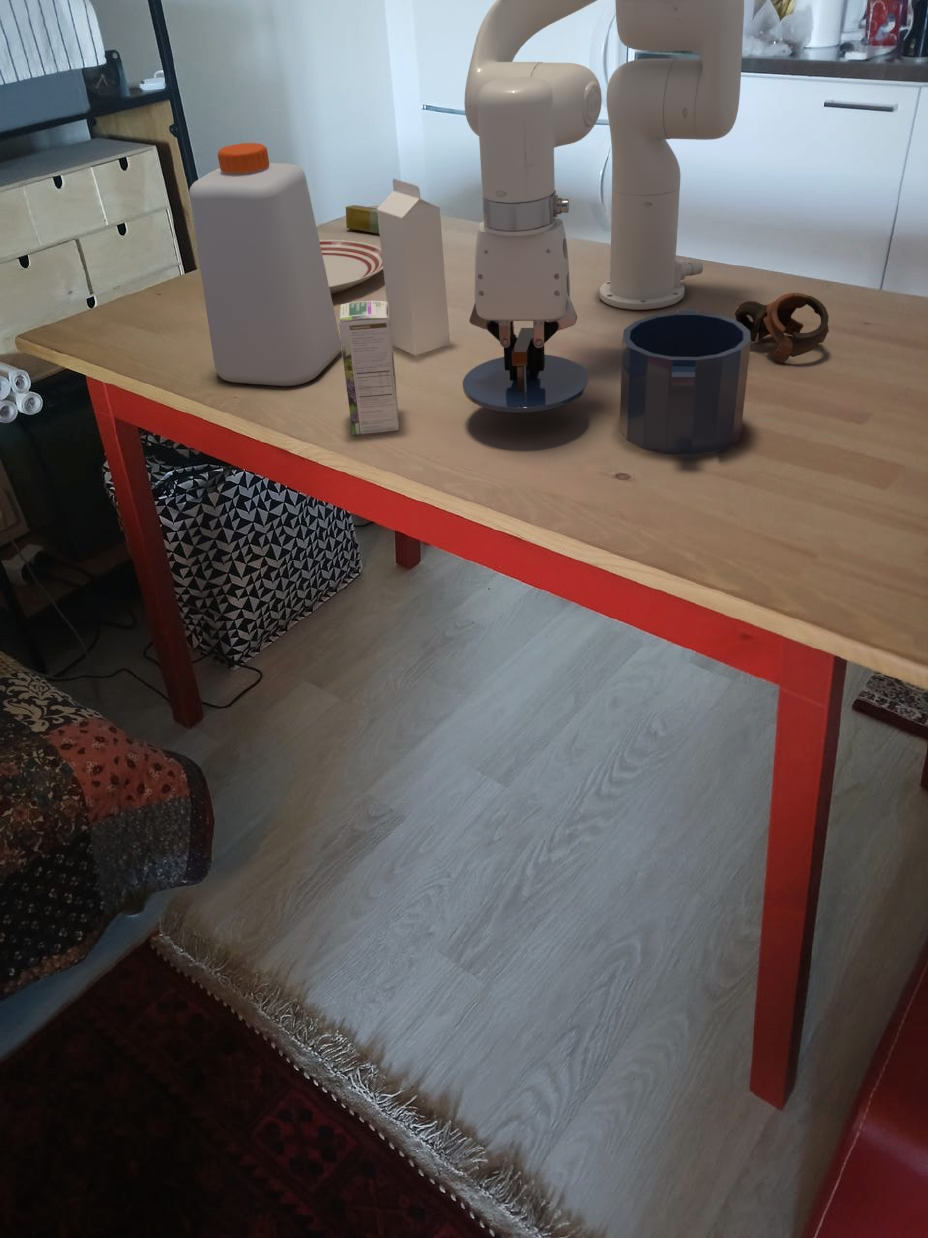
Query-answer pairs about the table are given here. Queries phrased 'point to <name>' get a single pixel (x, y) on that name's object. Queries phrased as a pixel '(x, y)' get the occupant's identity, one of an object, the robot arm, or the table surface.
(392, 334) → the milk
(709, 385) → the crock
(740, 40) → the robot arm
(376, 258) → the dinner plate
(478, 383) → the lid
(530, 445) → the table surface
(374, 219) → the medication box
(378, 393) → the syrup box
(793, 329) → the rusty metal shackles
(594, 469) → the table surface
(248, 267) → the plastic bottle
